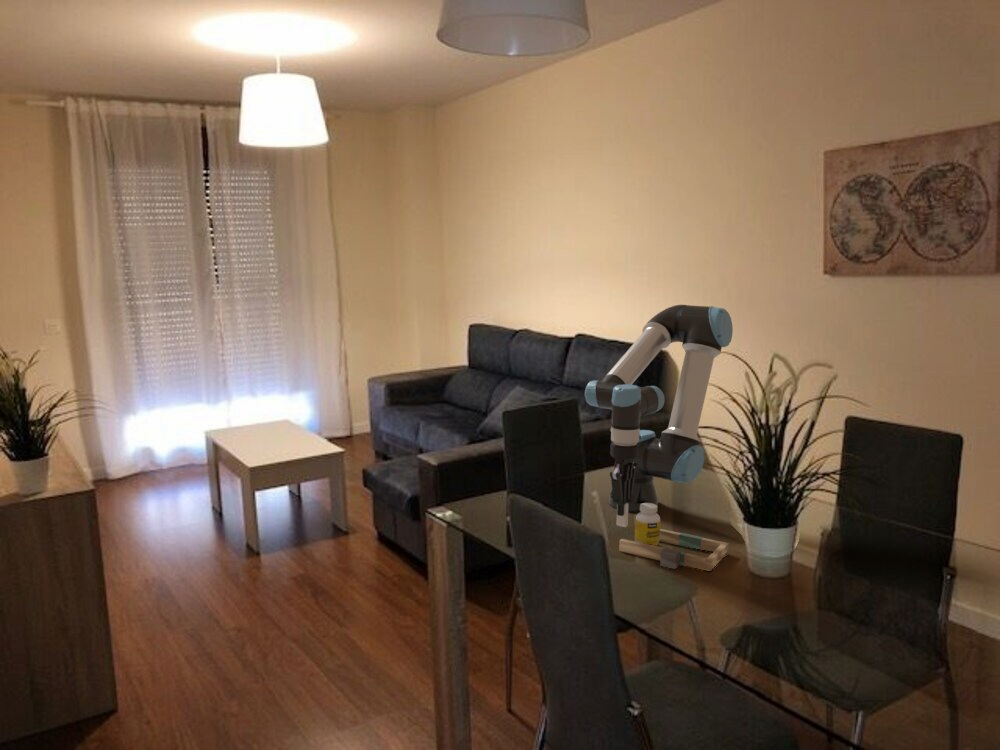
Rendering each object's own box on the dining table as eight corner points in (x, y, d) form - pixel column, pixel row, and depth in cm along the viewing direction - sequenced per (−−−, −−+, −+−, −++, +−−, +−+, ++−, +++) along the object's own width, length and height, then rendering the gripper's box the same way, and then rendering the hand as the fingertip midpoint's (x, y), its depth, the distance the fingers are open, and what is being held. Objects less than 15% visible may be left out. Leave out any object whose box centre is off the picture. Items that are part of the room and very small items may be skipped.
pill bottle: (641, 552, 217) (642, 510, 215) (630, 543, 224) (632, 502, 221) (663, 549, 219) (665, 508, 217) (652, 541, 225) (654, 500, 223)
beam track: (640, 534, 230) (640, 521, 229) (727, 553, 217) (728, 539, 216) (613, 555, 215) (614, 540, 215) (706, 577, 202) (706, 562, 201)
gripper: (622, 435, 228) (619, 516, 232) (601, 445, 217) (599, 529, 221) (647, 439, 224) (644, 521, 228) (627, 449, 213) (624, 535, 217)
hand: (622, 525), depth 224 cm, fingers closed
